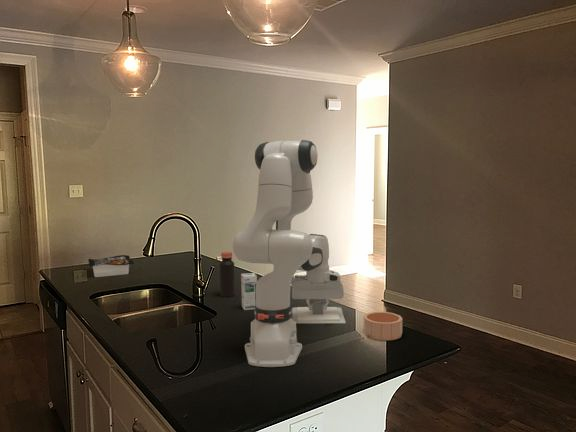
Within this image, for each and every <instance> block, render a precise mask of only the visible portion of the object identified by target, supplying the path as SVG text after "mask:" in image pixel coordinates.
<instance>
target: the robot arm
mask: <svg viewBox="0 0 576 432" xmlns="http://www.w3.org/2000/svg"><path fill="white" fill-rule="evenodd" d="M318 155H319V154H318V150H317V147H316V144H315V143H313V141H310V140H306V139H302V140H293V139H292V140H289V139H288V140H286V139H281V140H275V141H271V142H269V141H265V142H263V143H260V144H258V146H257V147H256V149H255V152H254V162H255V165H256V168H258V169H259V174H258V184H257V195H256V197H257V199H256V204H255V205H256V207H255V211H254V214H253V216H252V217H251V220H250V221H249V222H248V224H247V225H246V226H245V227H244V228H243V229H242V230H240V231H239V232H238V233H237V234H236V235H235V237H234V238H233V241H232V250H233V253H234V255H235V257H236V258H237V260H239V261H241V262H246V263H249V264H261V265H262V264H266V265H267V264H269V265H273V269H272V271H271V272H269V273H266V274H264V275H263V276H261V277H260V278H259V279H257V283H256V305H255V309H253V310H254V312H253V313H254V319H253V320H252V321H251V322H250V337H249V339H248V340H249V342H247V343H245V344H244V351H245V355H246V359H247V363H248V365H250V366H255V367H264V368H277V367H279V368H282V367H287V366H289V367H290V366H292V365H295V364H296V362H297V360H298V357H299V356H300V354H301V351H302V349H303V344H302V343H301V342H298V336H297V333H298V329H297V323H296V322H295V321H294V320H293V319H292V304H291V297H292V299H293V300H305V302H306V304H307V307H309V310H313V305H312V304H311V303H310V301H311V300H325V303H324V304H323V310H327V307H328V305H329V304H330V300H342V299H344V298H345V297H344V295H345V293H344V287H343V282H342V281H341V280H342V279H341V274H340V273H339V272H338V271H334V270H330V265H329V258H330V247H329V245H330V244H329V240H328V237H327V236H326V235H323V234H316V233H310V234H308V233H307V232H302V231H298V230H294V229H291V228H292V227H291V226H292V221H293V219H294V217H296V216H298V215H299V214H301V213H304V212H306V211H307V210H308V209H309V208H310V206H312V204H313V198H314V196H313V194H314V191H313V183H312V176H311V171H312V170H314V168H315V167H316V166H317V163H318V157H319V156H318ZM274 225H275V229H273V226H274ZM297 271H301V272H305V273H306V274H302V275H301V274H300V275H299V274H296V272H297ZM295 274H296V275H295ZM291 287H292V290H291Z"/></svg>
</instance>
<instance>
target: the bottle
mask: <svg viewBox="0 0 576 432" xmlns="http://www.w3.org/2000/svg"><path fill="white" fill-rule="evenodd" d="M220 258H221V261H220V262H219V295H220V297H222V298H231V297H234V296H235V295H236V287H235V286H236V285H235V284H236V283H235V282H236V280H235V279H236V278H235V277H236V276H235V275H236V274H235V273H236V272H235V262H234V261H233V260H232V259H233V252H231V251H222V252H221V254H220Z"/></svg>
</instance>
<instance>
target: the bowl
mask: <svg viewBox="0 0 576 432" xmlns="http://www.w3.org/2000/svg"><path fill="white" fill-rule="evenodd" d="M363 332H364V334H365V336H366V337H367V338H369V339H372V340H376V341H384V342H385V341H389V342H390V341H395V340H398V339H401V338H402V335H403V317H402V316H401V315H400V314H396V313H394V312H390V311H389V312H387V311H373V312H369V313H366V314H364V315H363Z"/></svg>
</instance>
